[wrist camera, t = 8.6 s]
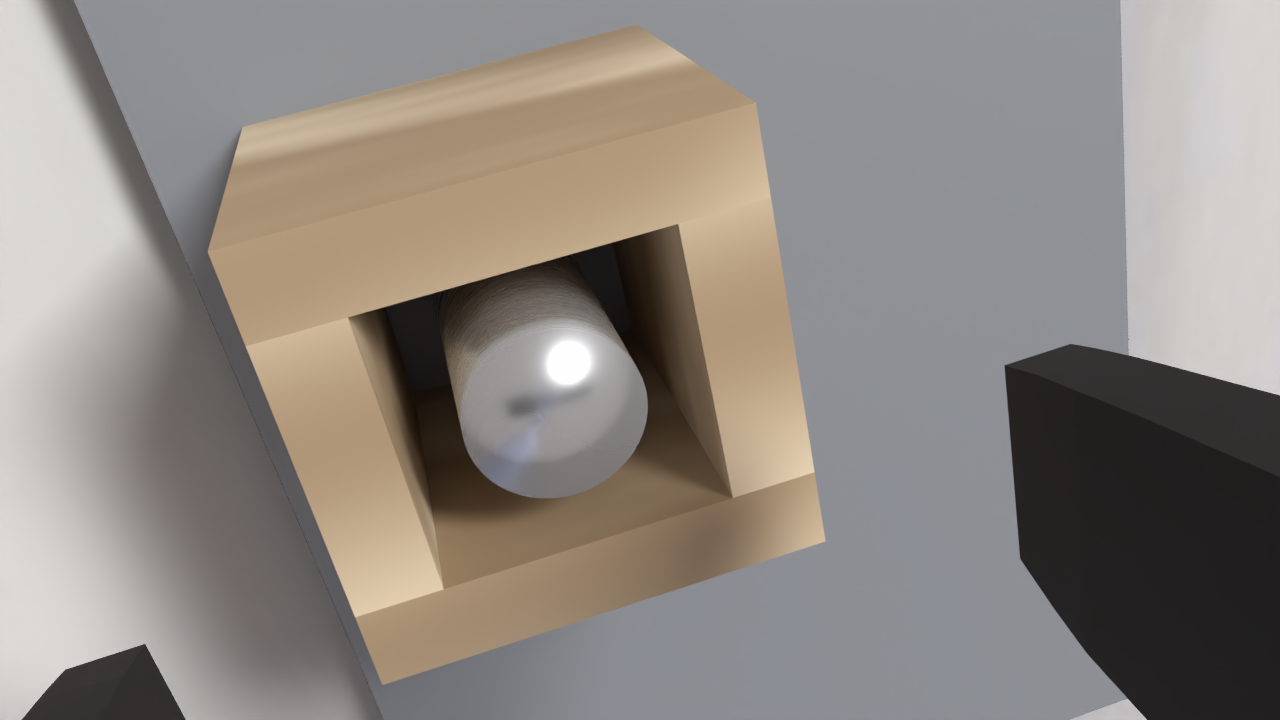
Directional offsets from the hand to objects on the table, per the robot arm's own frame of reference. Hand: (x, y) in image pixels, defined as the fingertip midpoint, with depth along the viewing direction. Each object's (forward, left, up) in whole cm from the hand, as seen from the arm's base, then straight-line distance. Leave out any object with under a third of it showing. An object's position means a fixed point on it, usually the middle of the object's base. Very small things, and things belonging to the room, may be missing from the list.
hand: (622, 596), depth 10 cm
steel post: (0, 0, -8) cm, 8 cm away
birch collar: (0, 0, -8) cm, 8 cm away
